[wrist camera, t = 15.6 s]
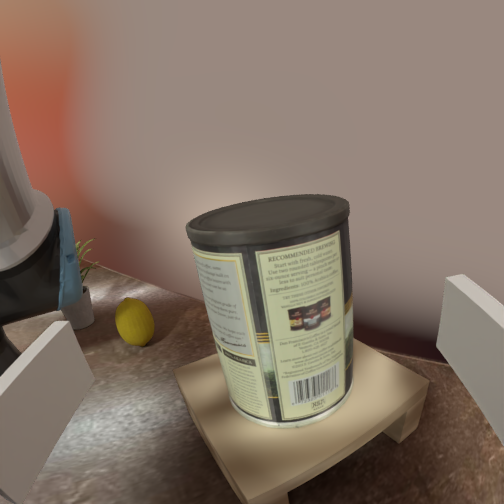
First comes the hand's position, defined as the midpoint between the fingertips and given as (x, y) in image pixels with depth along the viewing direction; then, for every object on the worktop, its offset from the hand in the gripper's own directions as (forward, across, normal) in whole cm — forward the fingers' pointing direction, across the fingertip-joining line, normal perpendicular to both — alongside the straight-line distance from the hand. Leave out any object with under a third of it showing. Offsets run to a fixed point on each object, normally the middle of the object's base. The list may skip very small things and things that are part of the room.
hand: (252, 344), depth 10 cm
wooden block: (+11, +1, -18) cm, 21 cm away
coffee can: (+11, +1, -12) cm, 17 cm away
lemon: (+28, -20, -18) cm, 39 cm away
